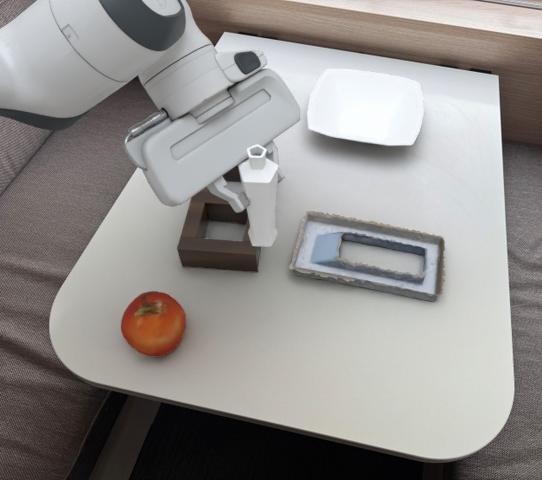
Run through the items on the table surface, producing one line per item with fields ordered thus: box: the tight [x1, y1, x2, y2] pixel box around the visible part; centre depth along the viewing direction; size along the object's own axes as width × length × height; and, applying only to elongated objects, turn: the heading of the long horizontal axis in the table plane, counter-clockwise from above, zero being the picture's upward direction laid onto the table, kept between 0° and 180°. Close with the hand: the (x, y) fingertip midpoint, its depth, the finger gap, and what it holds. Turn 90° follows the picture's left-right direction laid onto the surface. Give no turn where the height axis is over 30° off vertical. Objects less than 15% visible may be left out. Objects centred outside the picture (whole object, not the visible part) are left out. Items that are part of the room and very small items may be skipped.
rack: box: [176, 157, 263, 273], centre depth 90 cm, size 22×12×5 cm, turn 176°
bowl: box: [306, 67, 425, 147], centre depth 107 cm, size 22×23×6 cm
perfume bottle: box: [238, 144, 280, 248], centre depth 62 cm, size 5×4×15 cm
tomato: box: [120, 290, 187, 358], centre depth 75 cm, size 9×9×8 cm
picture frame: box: [289, 210, 446, 302], centre depth 87 cm, size 13×25×3 cm, turn 80°
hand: (261, 195), depth 61 cm, fingers closed on perfume bottle, 4 cm apart
